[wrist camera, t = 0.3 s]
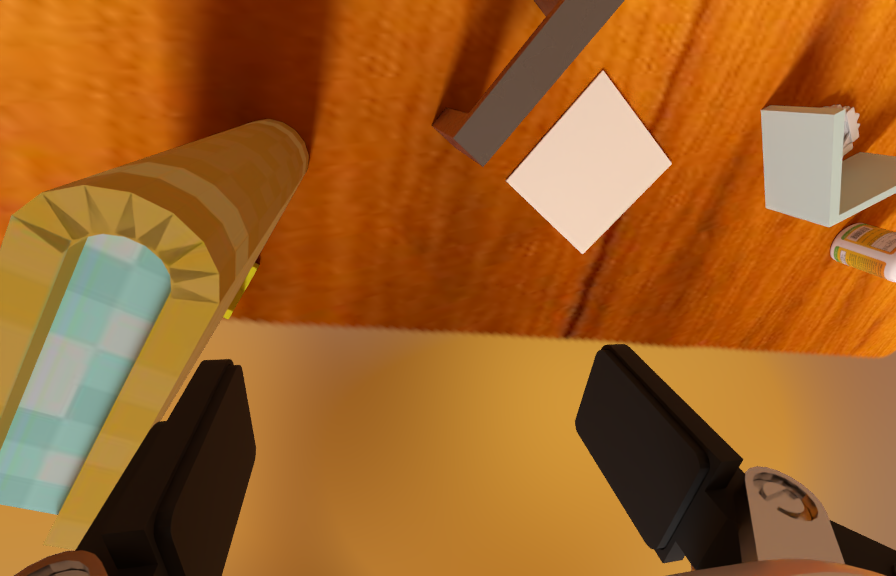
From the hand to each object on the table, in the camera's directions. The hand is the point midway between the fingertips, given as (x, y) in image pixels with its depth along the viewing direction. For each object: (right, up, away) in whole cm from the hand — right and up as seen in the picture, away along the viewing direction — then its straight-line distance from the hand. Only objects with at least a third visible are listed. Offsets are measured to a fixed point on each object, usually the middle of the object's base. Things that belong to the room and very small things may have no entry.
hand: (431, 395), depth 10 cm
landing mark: (+15, +15, +30) cm, 37 cm away
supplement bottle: (+53, +9, +42) cm, 68 cm away
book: (-18, +10, +26) cm, 33 cm away
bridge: (+5, +22, +24) cm, 33 cm away
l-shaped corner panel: (+41, +20, +34) cm, 57 cm away
